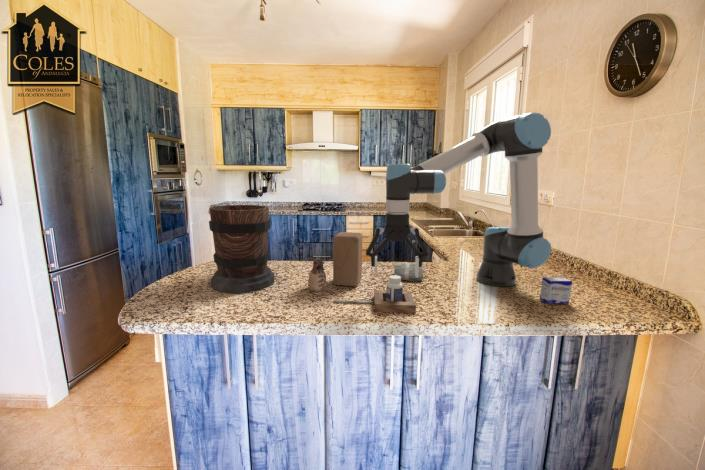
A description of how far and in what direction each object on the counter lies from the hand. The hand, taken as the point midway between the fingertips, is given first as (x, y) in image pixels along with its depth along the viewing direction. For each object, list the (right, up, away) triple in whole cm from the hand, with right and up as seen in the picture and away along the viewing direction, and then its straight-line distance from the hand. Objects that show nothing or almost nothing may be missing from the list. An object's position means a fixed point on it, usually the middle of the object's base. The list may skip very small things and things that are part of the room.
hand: (396, 276), depth 109 cm
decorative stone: (+9, -5, +31) cm, 33 cm away
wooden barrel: (-59, -5, +24) cm, 63 cm away
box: (+57, -10, +6) cm, 58 cm away
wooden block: (-17, -6, +23) cm, 29 cm away
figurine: (-28, -7, +16) cm, 33 cm away
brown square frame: (-8, -10, +2) cm, 12 cm away
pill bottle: (-1, -10, +2) cm, 10 cm away
